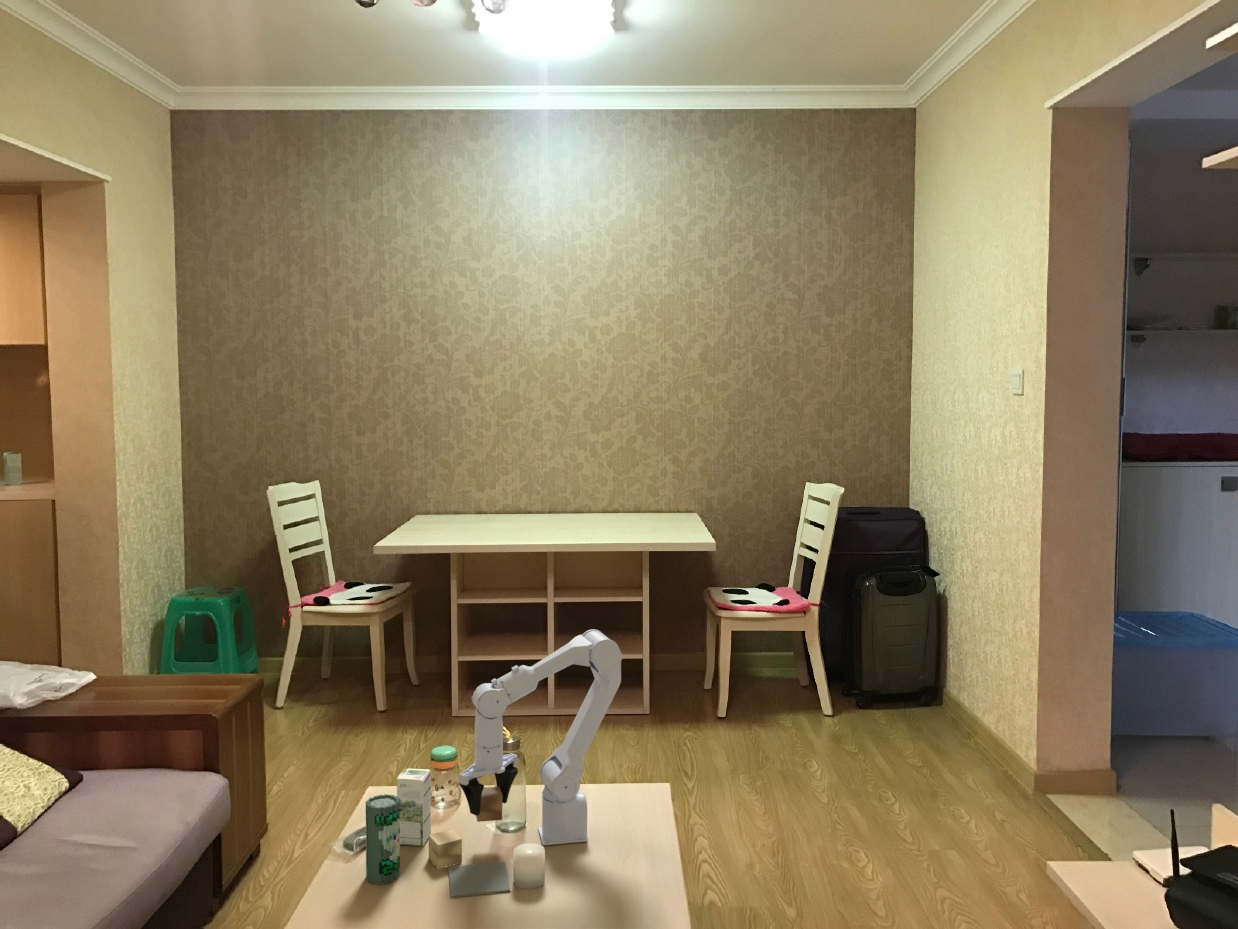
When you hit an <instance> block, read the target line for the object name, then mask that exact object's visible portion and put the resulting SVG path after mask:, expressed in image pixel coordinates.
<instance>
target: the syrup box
mask: <svg viewBox="0 0 1238 929" xmlns="http://www.w3.org/2000/svg"><path fill="white" fill-rule="evenodd" d="M431 772H432V771H431V769H427V768H426V769H423V768H422V769H421V768H404V769H403V770H402V771H401V772H400V774H398V777H397V778H396V796H397V798H398V799H400V846H410V847H411V846H412V847H424V845H425V844H426V843H427V841H428V840H429V835H431V834H432V823H431V822H432V821H431V819H432V818H431V813H432V812H431V809H432V808H431V805H432V803H431V801H432V800H431V796H432V794H431V792H432V791H431V787H432V786H431V784H432V783H431V782H432V779H431V778H432V776H431V775H432V774H431ZM427 839H428V840H427ZM425 842H426V843H425Z"/></svg>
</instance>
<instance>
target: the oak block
mask: <svg viewBox="0 0 1238 929" xmlns="http://www.w3.org/2000/svg"><path fill="white" fill-rule="evenodd" d="M428 859H429V861H430V860H431V861H432V862H433V863H434V864H433V863H432V862H431V861H430V862H431V863H432V864H433V865H434V866H435V867H436V869H437V870H441V869H444V868H443V867H445V866H448V867H451V866H450V865H452V866H454V865H453V864H455V865H458V864H457V863H459V864H461V863H460V862H462V863H463V839H462V837H461V836H460V835H458V833H456V831H454V829H452V828H451V829H448V830H443V831H440V832H435V833H431V835H429V838H428ZM440 868H441V869H440ZM445 868H446V867H445Z"/></svg>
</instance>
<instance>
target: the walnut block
mask: <svg viewBox="0 0 1238 929" xmlns="http://www.w3.org/2000/svg"><path fill="white" fill-rule="evenodd" d="M502 800H503V796H502V793H501V790H500V786H499V787H497V786H487V787H485V786H484V788H483V791H482V795H481V806H480V814H479V815H478V816H476V815H475V818H476V822H479V823H480V822H492V821H494V822H495V821H503V803H502Z"/></svg>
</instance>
